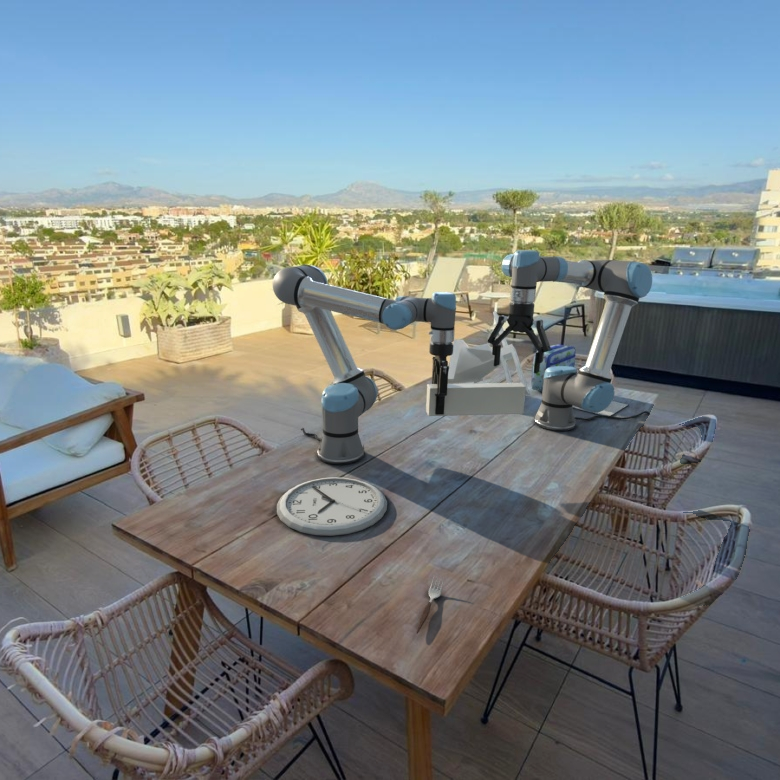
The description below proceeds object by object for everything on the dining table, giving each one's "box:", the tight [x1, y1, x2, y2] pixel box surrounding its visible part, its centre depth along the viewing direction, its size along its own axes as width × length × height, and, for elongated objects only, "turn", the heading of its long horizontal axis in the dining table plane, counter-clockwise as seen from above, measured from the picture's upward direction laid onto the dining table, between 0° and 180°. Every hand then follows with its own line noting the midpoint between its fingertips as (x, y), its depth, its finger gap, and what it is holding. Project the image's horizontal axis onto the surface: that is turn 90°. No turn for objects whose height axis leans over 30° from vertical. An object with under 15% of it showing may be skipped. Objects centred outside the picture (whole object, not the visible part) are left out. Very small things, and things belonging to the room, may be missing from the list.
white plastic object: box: [448, 310, 531, 397], centre depth 245 cm, size 37×45×31 cm
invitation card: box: [573, 400, 629, 416], centre depth 226 cm, size 21×1×15 cm
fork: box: [416, 574, 445, 635], centre depth 104 cm, size 3×16×2 cm, turn 160°
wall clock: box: [276, 476, 388, 537], centre depth 142 cm, size 30×2×30 cm
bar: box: [425, 382, 526, 417], centre depth 173 cm, size 32×5×10 cm, turn 97°
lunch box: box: [530, 344, 577, 392], centre depth 247 cm, size 26×11×21 cm, turn 134°
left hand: (437, 411), depth 172 cm, fingers closed on bar, 5 cm apart
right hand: (515, 368), depth 167 cm, fingers open, 13 cm apart
